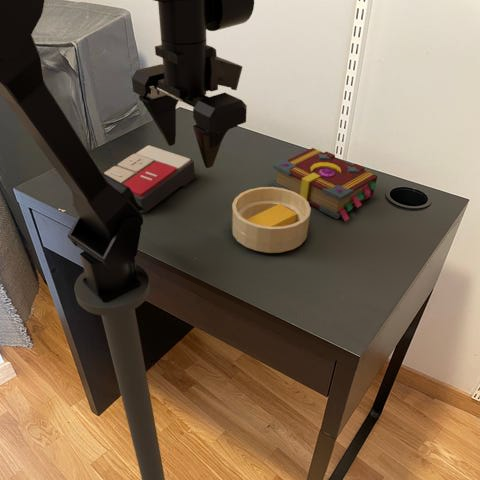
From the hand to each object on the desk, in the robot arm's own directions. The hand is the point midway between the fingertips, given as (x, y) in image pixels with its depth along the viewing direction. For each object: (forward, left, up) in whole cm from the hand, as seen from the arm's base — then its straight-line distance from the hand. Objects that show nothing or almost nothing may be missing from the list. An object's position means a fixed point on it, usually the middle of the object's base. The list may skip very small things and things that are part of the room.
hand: (189, 155), depth 72 cm
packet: (+8, -10, -11) cm, 17 cm away
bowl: (+8, -10, -12) cm, 18 cm away
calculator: (+1, +15, -12) cm, 19 cm away
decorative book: (+25, -7, -12) cm, 28 cm away
